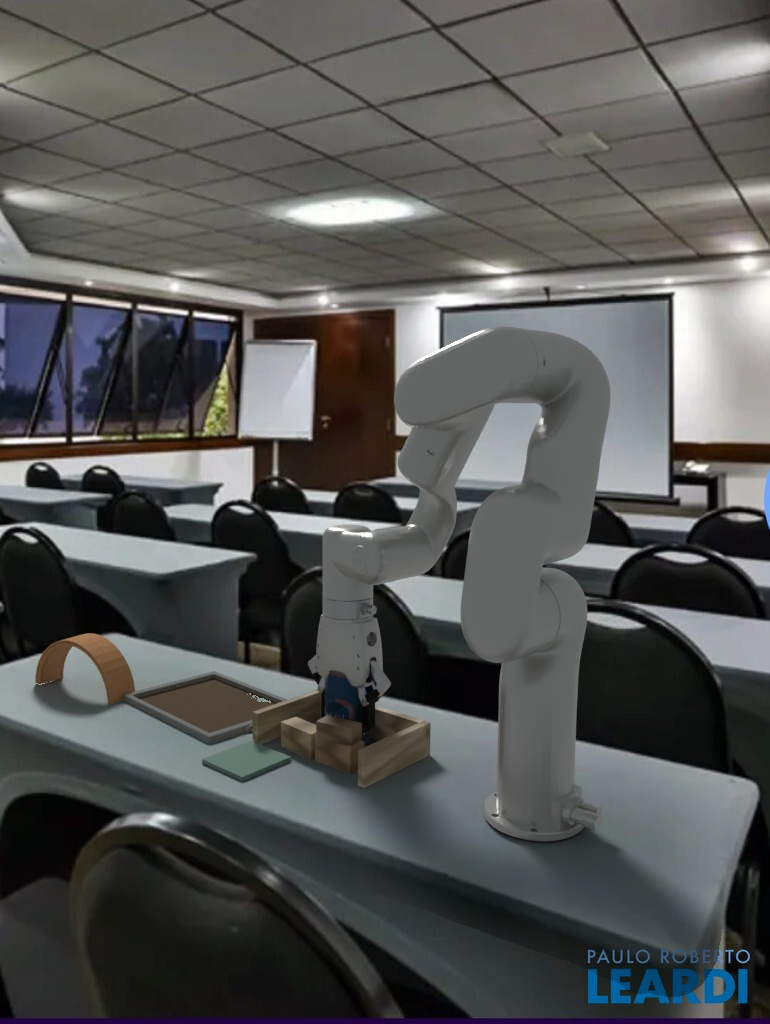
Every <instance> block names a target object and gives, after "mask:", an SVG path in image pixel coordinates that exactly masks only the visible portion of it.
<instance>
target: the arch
mask: <svg viewBox="0 0 770 1024" xmlns="http://www.w3.org/2000/svg"><path fill="white" fill-rule="evenodd" d="M72 648H76V649H78V650H80V651H81V652H83V653H84V654H85V655H87V656H88V658H90V660H91V661H92V662H93V664H94V665H95V666H96V667H95V668H97V670H98V671H99V674H100V676H101V678H102V681H103V683H104V687H105V690H106V696H107V704H108V703H110V704H109V705H113V704H115V702H116V703H118V702H121V701H123V694H127V693H130V692H134V691H136V687H135V681H134V677H133V673H132V671H131V668H130V665H129V663H128V662H127V660H126V658H125V656H124V655H123V654H122V652H121V650H119V648H118V647H117V646H116V645H115V644H114V643H113V642H112V641H111V640H109V639H108V638H107V637H105V636H102V635H101V634H97V633H92V632H91V633H89V632H88V633H84V634H78V635H75V636H72V637H69V638H68V637H67V638H65V639H61V640H58V641H55V642H52V643H51V644H50V645H48V647H46V648H45V650H44V651H43V652H42V653H41V656H40V657H39V659H38V662H37V666H36V669H35V683H38V684H41V683H46V682H50V681H53V680H56V681H58V680H57V679H59V680H61V679H63V678H64V669H65V663H66V660H67V656H68V654H69V652H70V651H71V650H72ZM60 678H61V679H60ZM53 682H54V681H53ZM50 683H51V682H50ZM112 703H113V704H112Z"/></svg>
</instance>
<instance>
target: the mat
mask: <svg viewBox="0 0 770 1024" xmlns="http://www.w3.org/2000/svg"><path fill="white" fill-rule="evenodd" d="M291 759H292V758H291V755H287V754H285V753H282V752H279V751H278V750H275V749H272V748H269V747H267V746H264V745H263V744H261V745H260V744H257V743H255V742H253V740H248V741H246V742H243V743H240V744H238V745H235V746H233V747H230V748H227V749H224V750H222V751H220V752H218V753H215V754H212V755H211V754H210V755H209V756H207V757H204V758H202V759H201V763H202V764H203V765H205V766H208V767H210V768H212V769H215V770H217V771H219V772H221V773H223V774H225V775H228V776H229V777H232V778H234V779H237V780H239V781H241V782H243V781H247V780H248V779H251V778H253V777H256V776H259V775H260V774H263V773H265V772H267V771H270V770H273V769H274V768H277V767H279V766H282V765H284V764H287V763H289V762H291Z"/></svg>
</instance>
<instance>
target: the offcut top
mask: <svg viewBox="0 0 770 1024" xmlns="http://www.w3.org/2000/svg"><path fill="white" fill-rule="evenodd" d="M315 725H316V737H317V738H321V739H325V740H329V741H333V742H338V743H342V744H346V745H350V746H352V745H354V744H355V743H357V742H358V741H360V740H361V739H362V723H359V722H355V721H350V720H346V719H341V718H337V717H332V716H328V715H327V716H325V717H323V718H321V719H320V720H318V721H316V723H315Z"/></svg>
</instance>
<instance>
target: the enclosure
mask: <svg viewBox="0 0 770 1024" xmlns="http://www.w3.org/2000/svg"><path fill="white" fill-rule="evenodd" d="M294 717H298V718H301V719H303V720H306V721H308V722H310V723H313V724H315V725H316V721H318V720H320V719H321V693H320V692H319V691H318V688H317V689H314V690H312V691H309V692H306V693H302V694H300V695H297V696H295V697H292V698H289V699H287V700H286V701H283V702H280V703H277V704H274V705H271V706H268V707H265V708H263V709H260V710H257V711H254V712H252V721H253V732H252V742H255V743H257V744H260V745H263V744H266V743H268V742H271V741H273V740H276V739H279V738H281V721H285V720H288V719H291V718H294ZM371 739H372V740H374V741H375V742H373V743H371V744H369V745H367V746H366V747H364V748H362V749H360V750H358V771H357V786H358V787H361V788H363V789H366V788H368V787H370V786H372V785H373V784H375V783H377V782H379V781H381V780H383V779H385V778H387V777H389V776H391V775H393V774H395V773H397V772H399V771H402V770H404V769H405V768H407V767H409V766H411V765H413V764H415V763H418V762H419V761H421V760H423V759H426V758H427V757H428V756H430V755H431V722H430V721H427V720H424V719H420V718H418V717H417V718H416V717H415V716H410V715H408V714H404V713H401V712H398V711H395V710H391V709H389V708H386V707H385V708H384V707H382V706H378V705H376V704H375V726H374V727H373V728H371V738H370V740H371Z"/></svg>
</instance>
